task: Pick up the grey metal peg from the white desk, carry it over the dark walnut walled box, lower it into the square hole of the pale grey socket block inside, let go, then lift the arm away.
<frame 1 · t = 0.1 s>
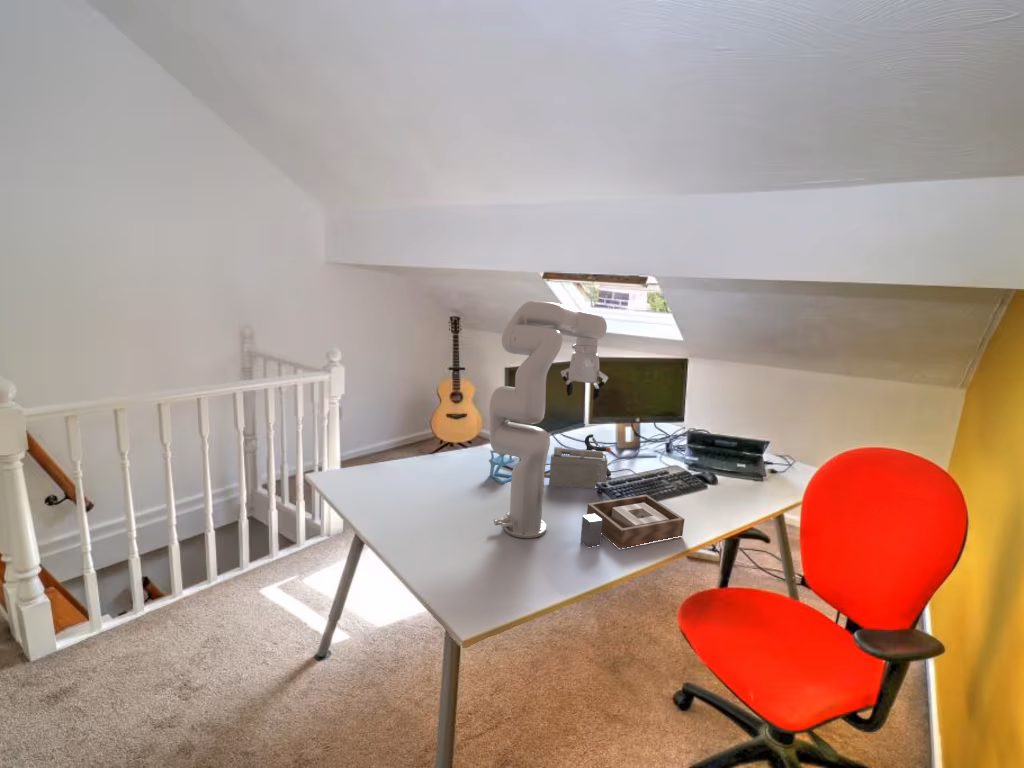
hand: (582, 396, 196), 31 cm above the table, tool pointing down, fingers open, 9 cm apart
hand grip strengthener: (595, 474, 208), on the table
chair: (500, 478, 200), on the table
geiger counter: (569, 486, 196), on the table
walnut box: (633, 529, 166), on the table
metal peg: (590, 543, 156), on the table
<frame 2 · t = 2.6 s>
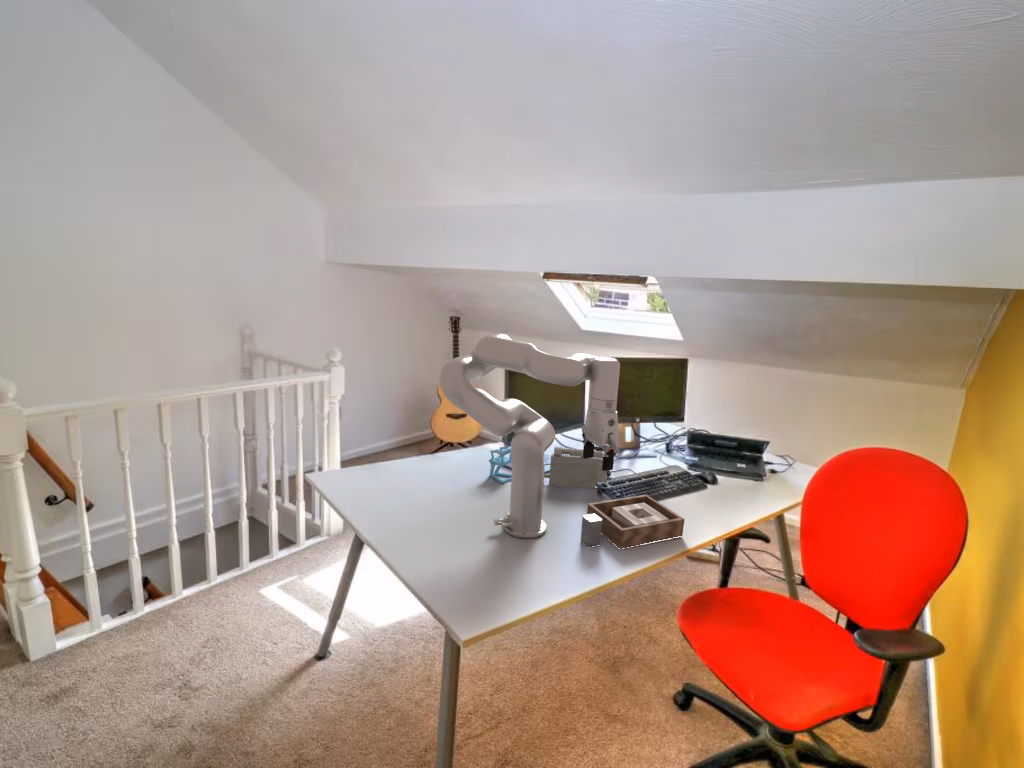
hand: (597, 463, 151), 24 cm above the table, tool pointing down, fingers open, 9 cm apart
nothing on the table moved.
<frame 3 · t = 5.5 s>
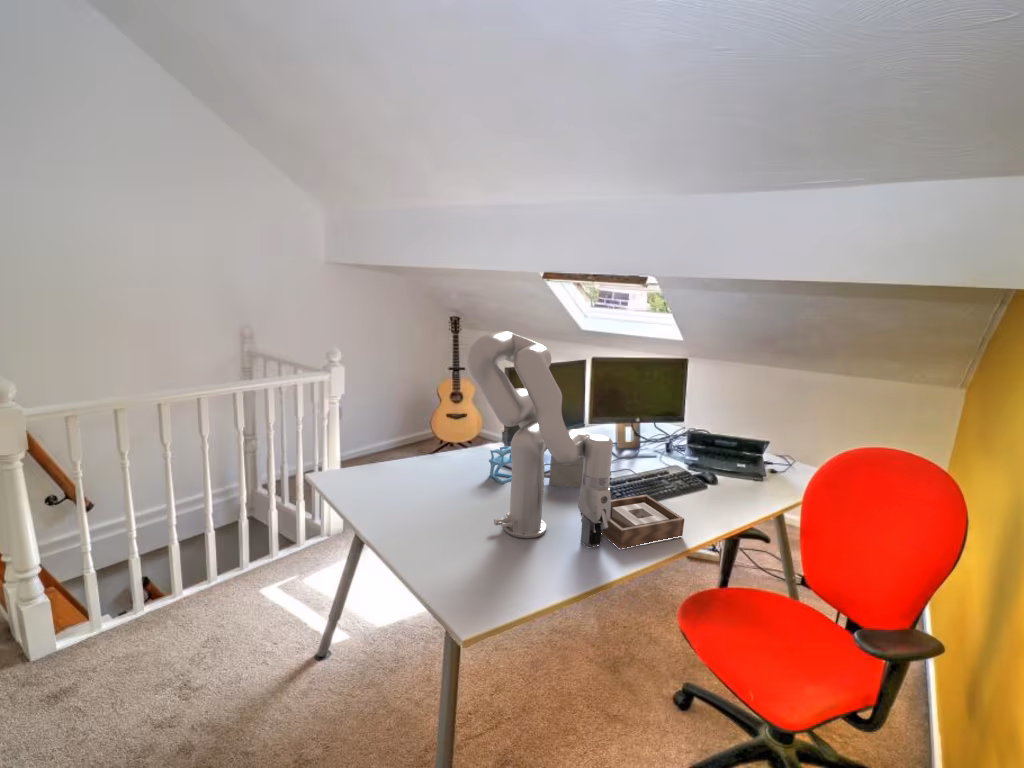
hand: (590, 539, 156), 1 cm above the table, tool pointing down, fingers closed on metal peg, 3 cm apart
metal peg: (590, 543, 156), on the table, touching gripper
everything else where it was.
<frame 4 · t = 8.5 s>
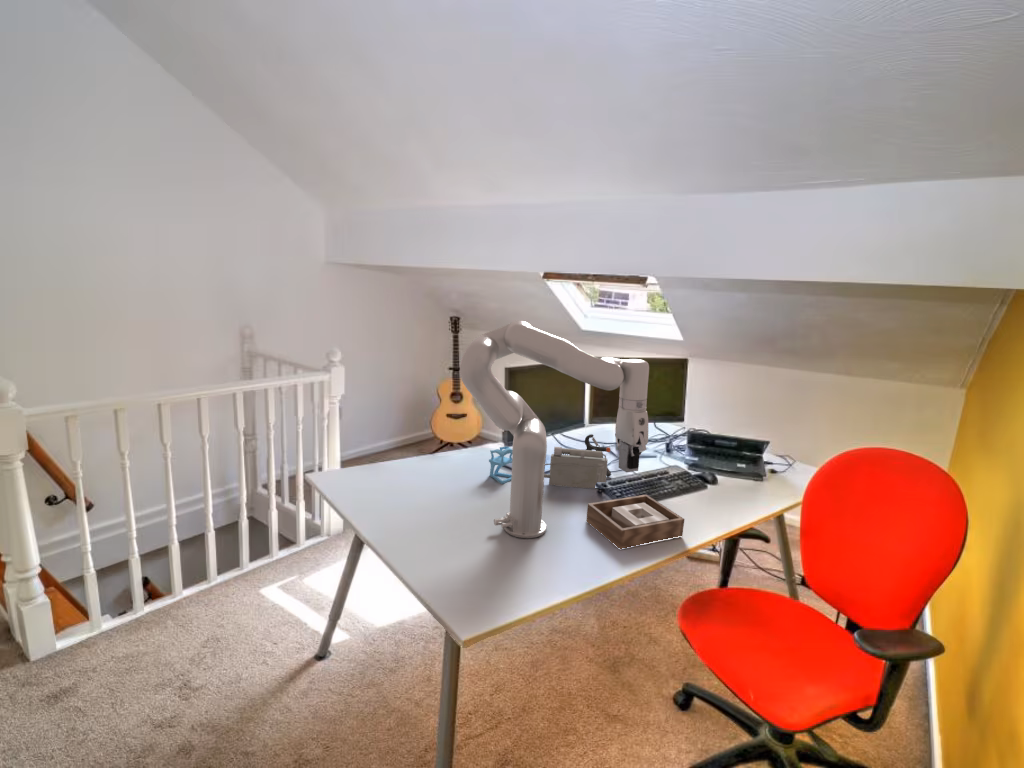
hand: (628, 464, 157), 22 cm above the table, tool pointing down, fingers closed on metal peg, 4 cm apart
metal peg: (628, 469, 158), point 21 cm above the table, touching gripper
everything else where it was.
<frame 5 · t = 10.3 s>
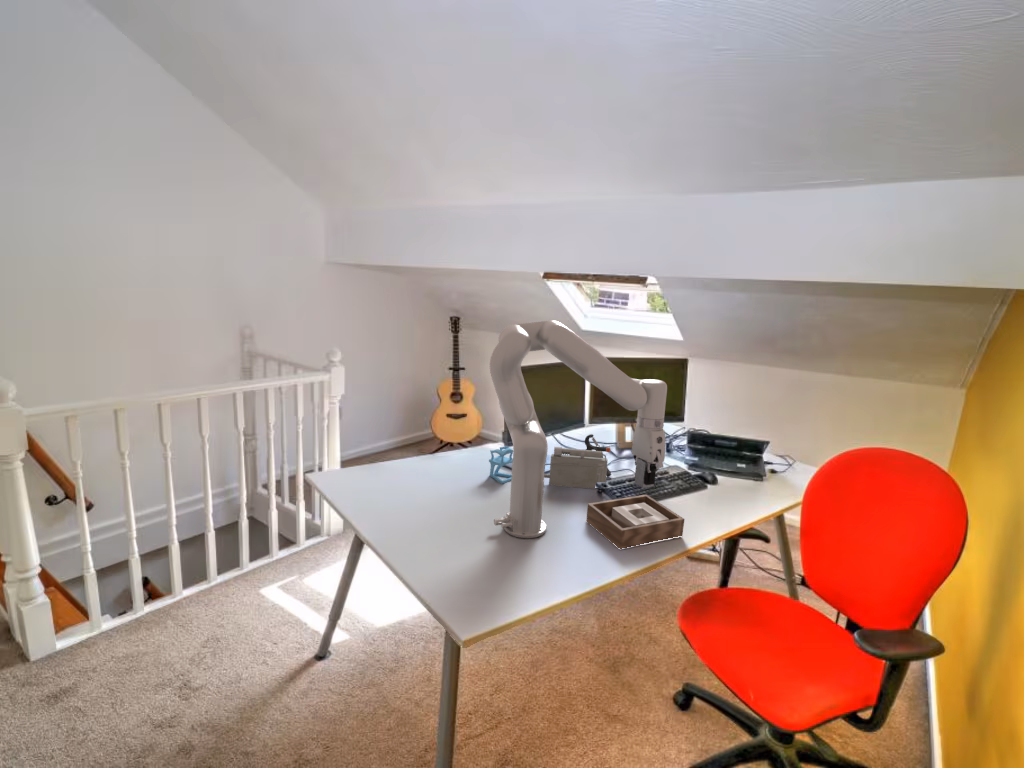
hand: (644, 480, 163), 16 cm above the table, tool pointing down, fingers closed on metal peg, 4 cm apart
metal peg: (644, 484, 163), point 14 cm above the table, touching gripper
everything else where it was.
when the fingers open (7 cm above the table, at t = 12.0 s): metal peg drops 5 cm, resting on walnut box.
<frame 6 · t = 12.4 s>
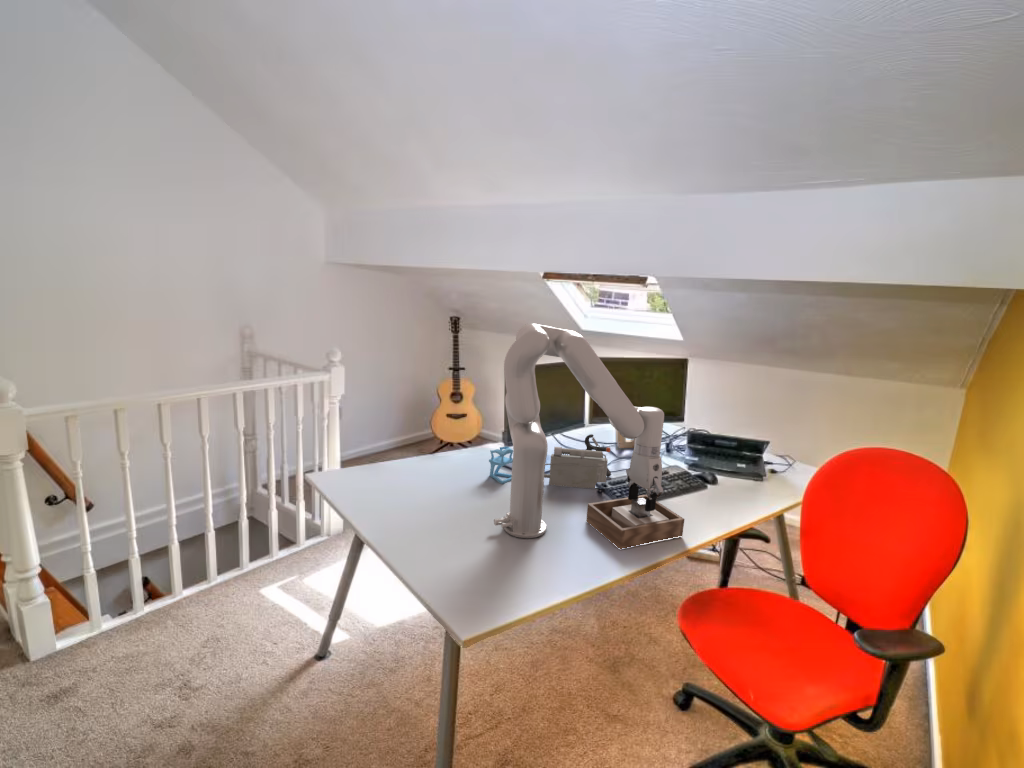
hand: (641, 504, 165), 8 cm above the table, tool pointing down, fingers open, 7 cm apart
metal peg: (638, 525, 166), point 1 cm above the table, touching walnut box
everything else where it was.
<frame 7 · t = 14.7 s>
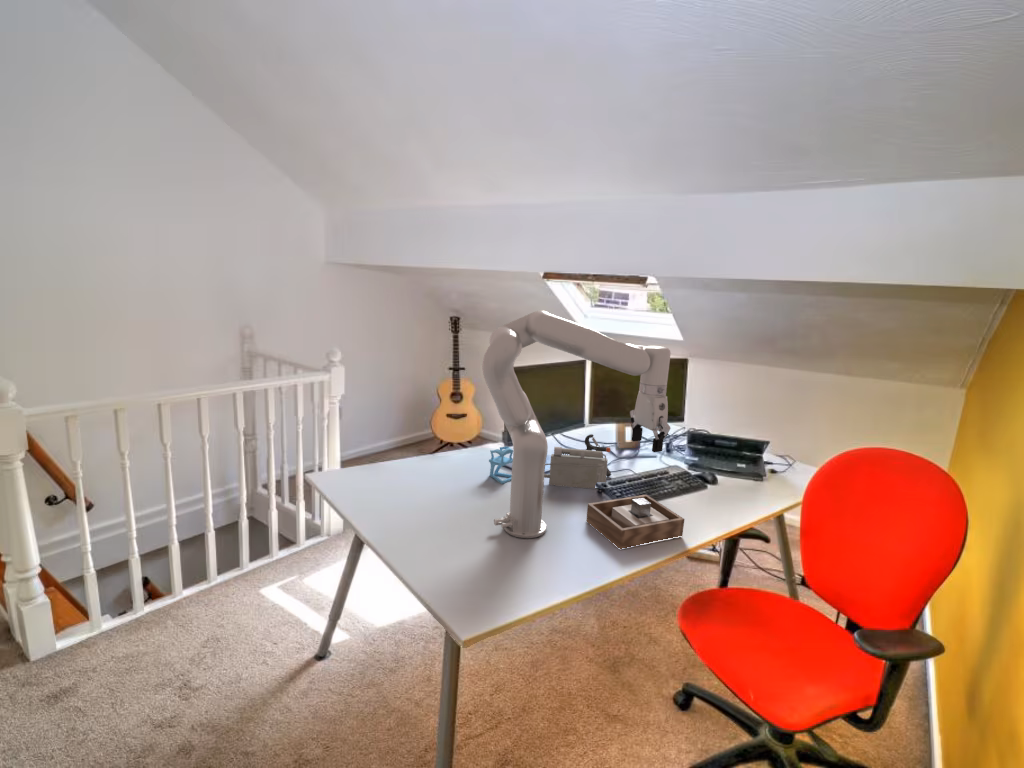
hand: (646, 446, 161), 26 cm above the table, tool pointing down, fingers open, 9 cm apart
nothing on the table moved.
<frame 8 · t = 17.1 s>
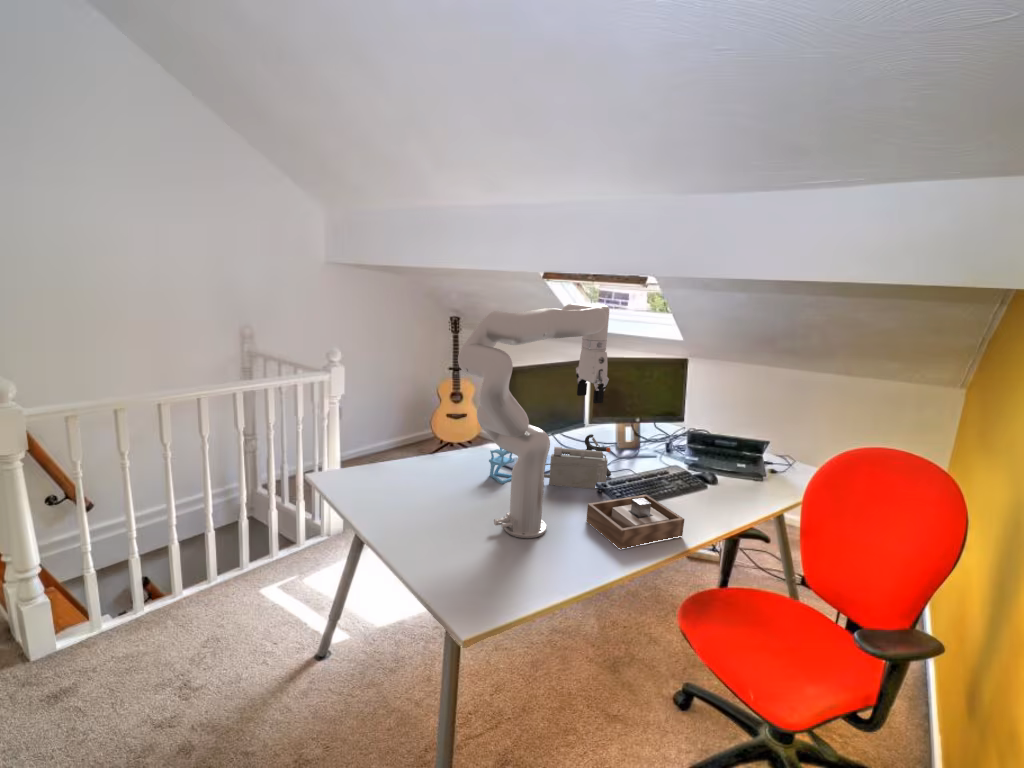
hand: (589, 399, 172), 36 cm above the table, tool pointing down, fingers open, 9 cm apart
nothing on the table moved.
at the end: metal peg 0.3 cm from the target spot on the walnut box, point 1.0 cm above the walnut box's base; metal peg tilted 0°; the gripper is holding nothing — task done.
